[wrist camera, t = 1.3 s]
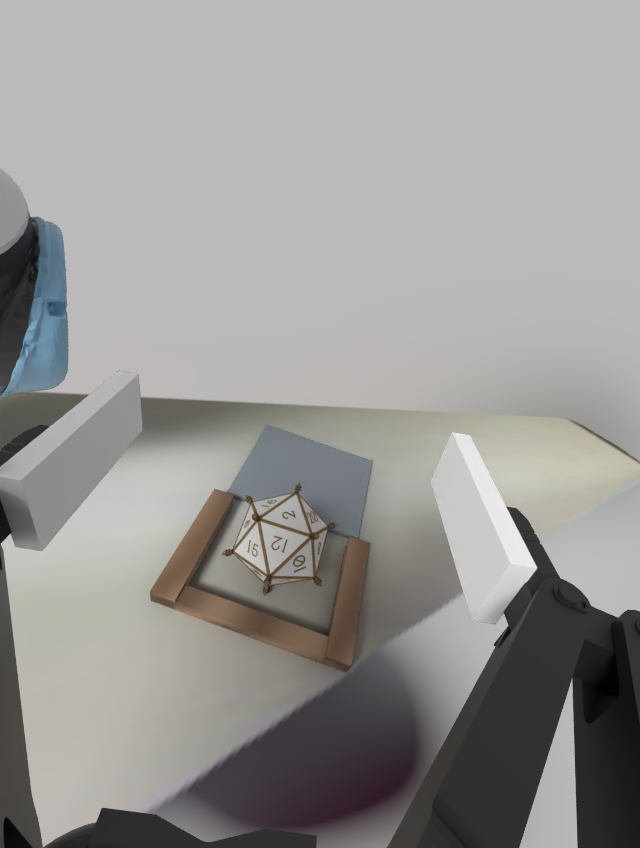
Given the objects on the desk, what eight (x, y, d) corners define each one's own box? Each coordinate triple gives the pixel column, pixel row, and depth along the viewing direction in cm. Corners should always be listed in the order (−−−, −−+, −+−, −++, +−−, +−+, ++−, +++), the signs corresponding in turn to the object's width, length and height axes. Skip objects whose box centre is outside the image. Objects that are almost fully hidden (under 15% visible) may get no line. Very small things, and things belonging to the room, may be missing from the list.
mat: (227, 494, 39) (227, 492, 39) (266, 427, 49) (266, 424, 49) (357, 540, 39) (358, 538, 39) (371, 463, 48) (372, 461, 48)
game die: (265, 565, 38) (295, 470, 38) (332, 610, 33) (367, 501, 33) (190, 578, 31) (227, 461, 31) (261, 639, 26) (306, 499, 26)
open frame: (150, 600, 30) (150, 591, 29) (213, 498, 39) (214, 488, 38) (346, 672, 29) (351, 664, 28) (365, 551, 38) (369, 543, 37)
